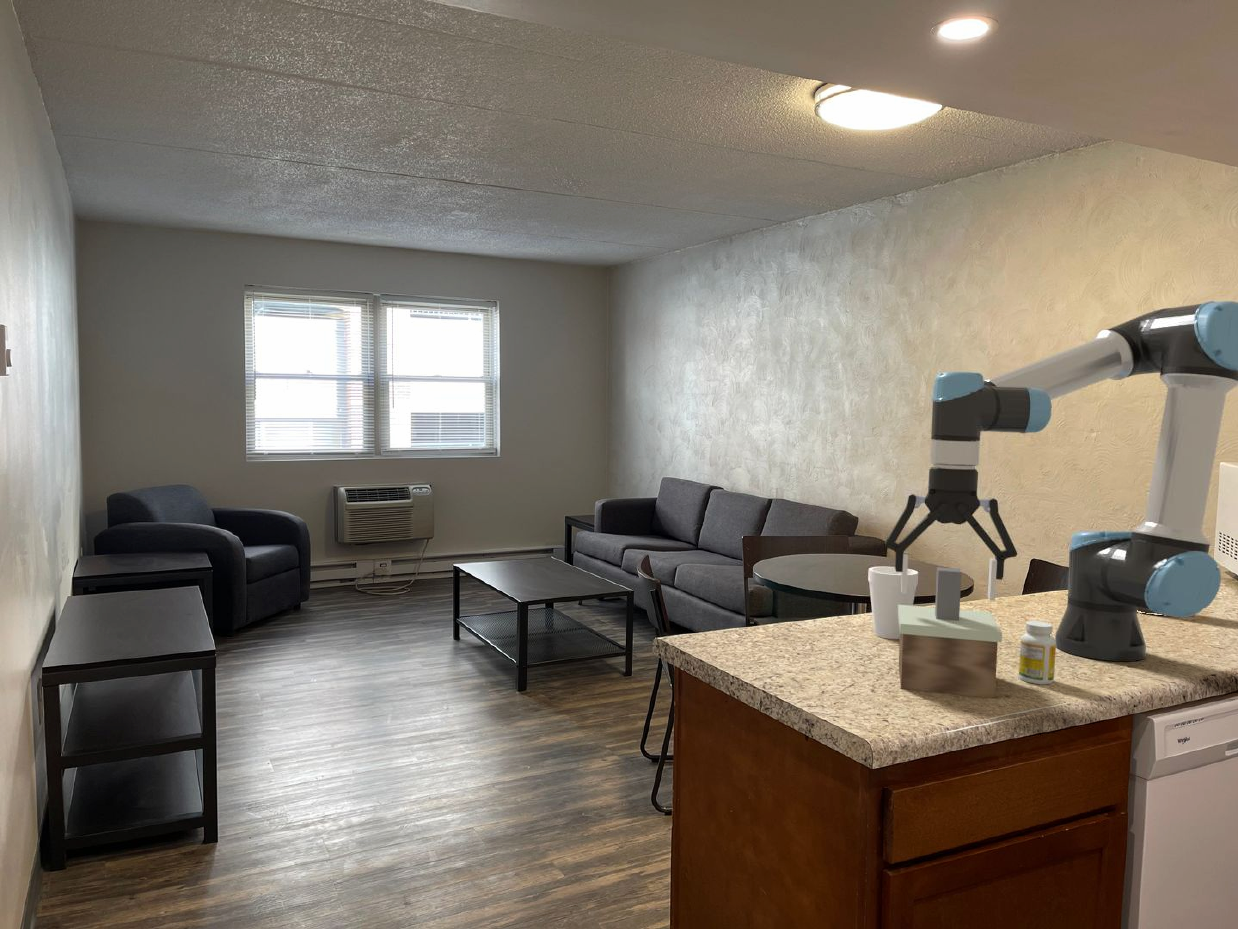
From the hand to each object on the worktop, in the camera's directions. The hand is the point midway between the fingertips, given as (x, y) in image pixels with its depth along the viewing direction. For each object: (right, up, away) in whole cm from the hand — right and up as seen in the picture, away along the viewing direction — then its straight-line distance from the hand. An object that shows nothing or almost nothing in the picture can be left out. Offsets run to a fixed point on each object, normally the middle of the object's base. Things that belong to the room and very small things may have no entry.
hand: (946, 595), depth 145 cm
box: (0, -14, +1) cm, 14 cm away
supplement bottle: (+16, -15, +3) cm, 22 cm away
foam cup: (0, -13, +31) cm, 33 cm away
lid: (0, -5, 0) cm, 5 cm away
